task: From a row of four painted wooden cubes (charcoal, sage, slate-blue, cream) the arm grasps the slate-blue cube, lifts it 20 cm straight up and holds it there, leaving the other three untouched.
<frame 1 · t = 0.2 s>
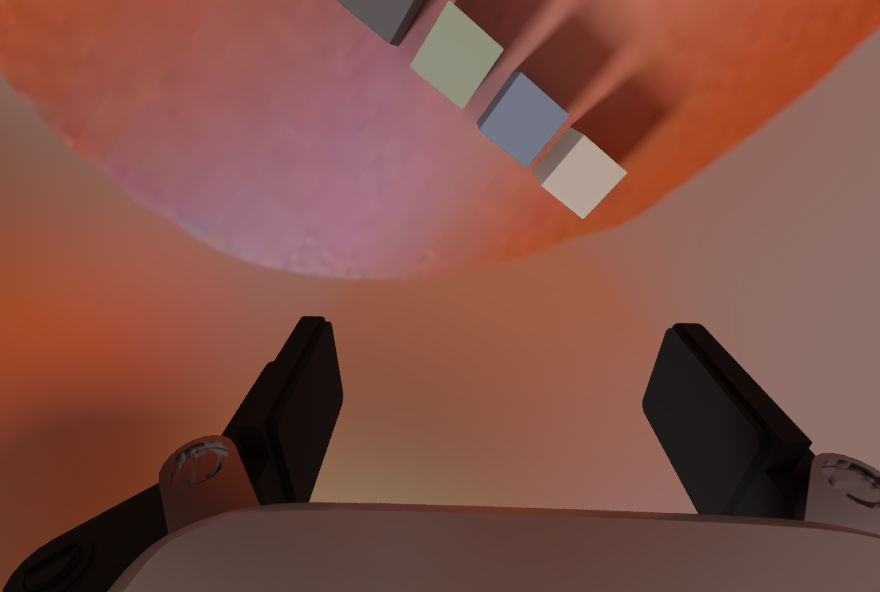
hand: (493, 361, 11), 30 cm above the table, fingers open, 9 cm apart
sage block: (456, 58, 34), on the table
slate block: (515, 115, 36), on the table
cream block: (569, 166, 38), on the table
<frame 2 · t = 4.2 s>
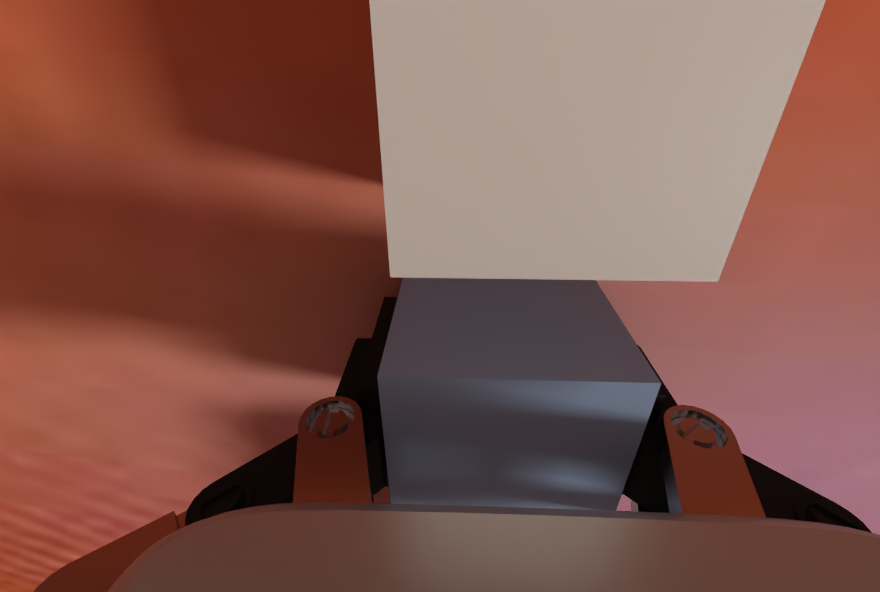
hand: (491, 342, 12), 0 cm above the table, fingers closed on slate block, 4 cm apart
slate block: (489, 332, 13), on the table, touching gripper
cream block: (522, 83, 9), on the table
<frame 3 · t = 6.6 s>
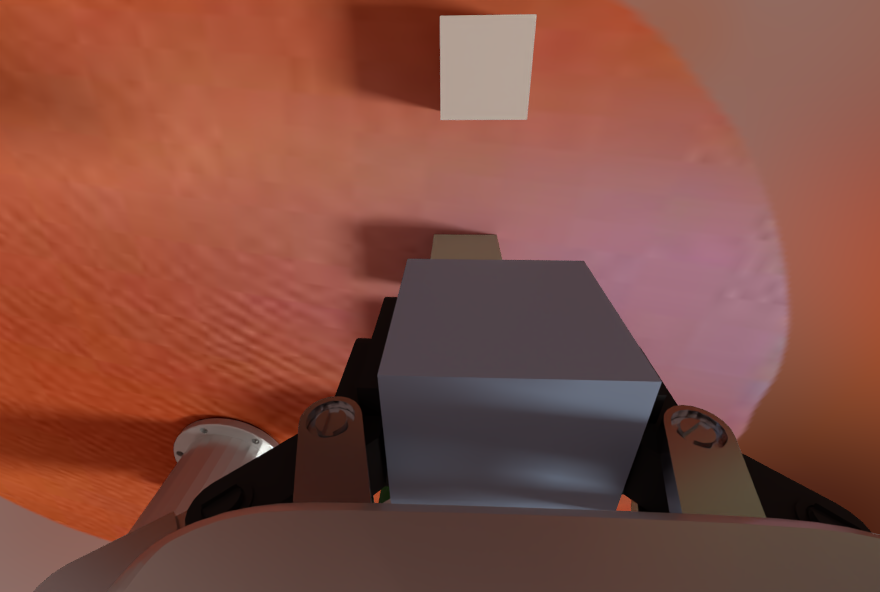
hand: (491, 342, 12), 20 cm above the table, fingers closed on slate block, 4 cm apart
sage block: (464, 262, 33), on the table
slate block: (489, 331, 13), point 20 cm above the table, touching gripper
cream block: (481, 69, 26), on the table
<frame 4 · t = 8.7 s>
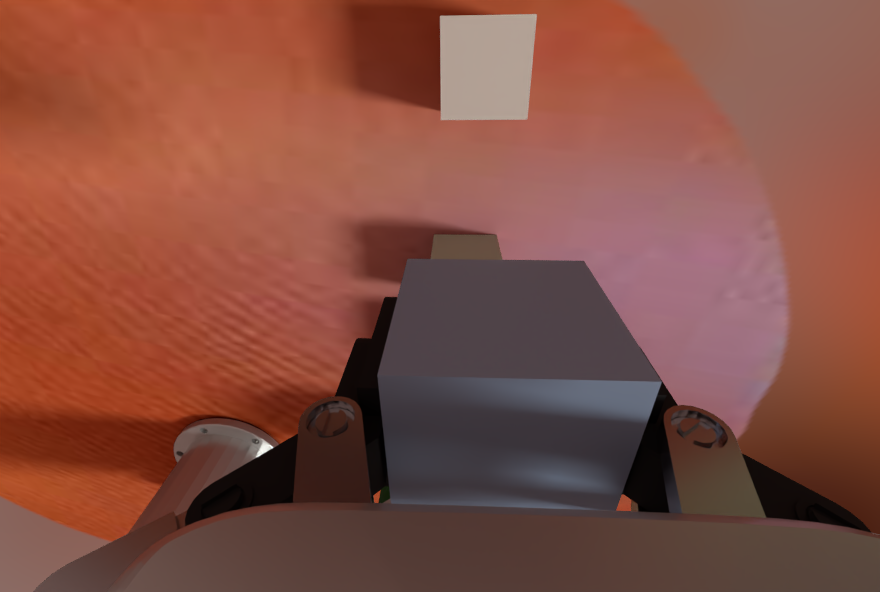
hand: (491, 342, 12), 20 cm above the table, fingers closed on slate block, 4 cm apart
sage block: (464, 262, 33), on the table
slate block: (489, 331, 13), point 20 cm above the table, touching gripper
cream block: (481, 69, 26), on the table
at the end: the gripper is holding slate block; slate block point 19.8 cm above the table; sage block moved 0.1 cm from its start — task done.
